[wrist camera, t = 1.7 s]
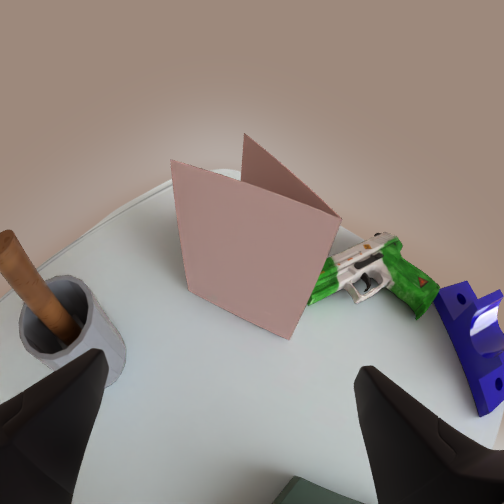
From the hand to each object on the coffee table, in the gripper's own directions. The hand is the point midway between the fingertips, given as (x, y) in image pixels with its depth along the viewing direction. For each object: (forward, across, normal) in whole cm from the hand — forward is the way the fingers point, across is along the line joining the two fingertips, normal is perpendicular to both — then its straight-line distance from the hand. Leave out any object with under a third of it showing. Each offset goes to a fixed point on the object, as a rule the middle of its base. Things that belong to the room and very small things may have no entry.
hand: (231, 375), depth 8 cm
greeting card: (+17, 0, +8) cm, 19 cm away
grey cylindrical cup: (+10, +14, +12) cm, 21 cm away
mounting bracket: (+11, -30, +11) cm, 34 cm away
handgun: (+13, -18, +8) cm, 24 cm away
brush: (+10, +14, +11) cm, 20 cm away
